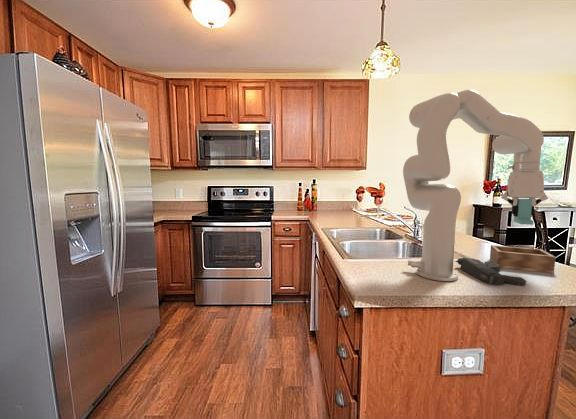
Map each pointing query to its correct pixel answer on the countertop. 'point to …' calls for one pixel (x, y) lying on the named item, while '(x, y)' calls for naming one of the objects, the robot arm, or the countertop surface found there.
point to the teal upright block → (524, 212)
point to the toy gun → (488, 272)
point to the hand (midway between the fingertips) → (522, 215)
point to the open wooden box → (522, 258)
